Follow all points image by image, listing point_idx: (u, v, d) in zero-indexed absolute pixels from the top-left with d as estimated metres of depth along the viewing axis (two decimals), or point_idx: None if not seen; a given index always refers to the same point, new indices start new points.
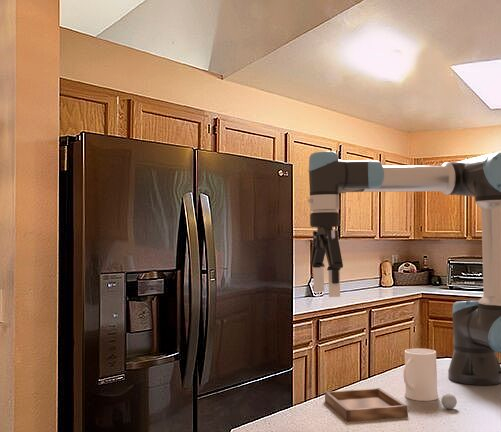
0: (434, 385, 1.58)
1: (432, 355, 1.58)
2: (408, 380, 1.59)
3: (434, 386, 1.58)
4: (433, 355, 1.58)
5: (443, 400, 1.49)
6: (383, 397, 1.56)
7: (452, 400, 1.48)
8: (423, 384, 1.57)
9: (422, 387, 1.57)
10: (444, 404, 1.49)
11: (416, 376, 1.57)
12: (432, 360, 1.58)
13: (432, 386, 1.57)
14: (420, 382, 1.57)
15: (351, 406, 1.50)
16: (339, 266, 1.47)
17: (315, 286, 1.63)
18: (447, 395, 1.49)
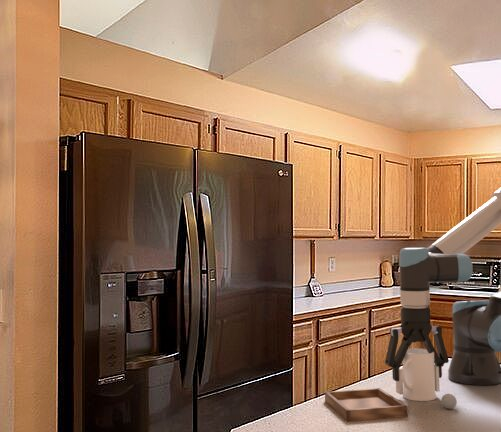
0: (432, 385, 1.58)
1: (430, 355, 1.58)
2: (406, 380, 1.59)
3: (432, 386, 1.58)
4: (431, 355, 1.58)
5: (443, 400, 1.49)
6: (383, 397, 1.56)
7: (452, 400, 1.48)
8: (421, 384, 1.57)
9: (420, 387, 1.57)
10: (444, 404, 1.49)
11: (414, 376, 1.57)
12: (431, 360, 1.58)
13: (430, 386, 1.57)
14: (418, 382, 1.57)
15: (351, 406, 1.50)
16: (387, 364, 1.58)
17: None
18: (447, 395, 1.49)
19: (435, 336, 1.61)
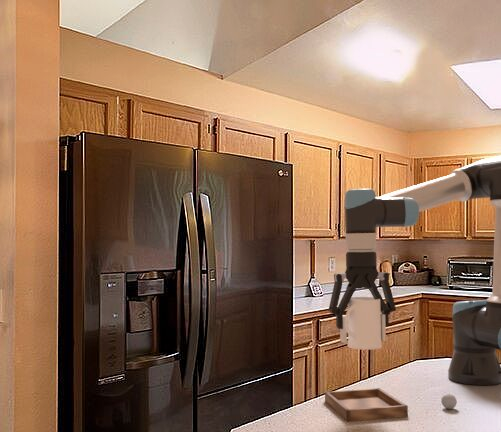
0: (377, 333, 1.49)
1: (375, 301, 1.49)
2: (350, 328, 1.50)
3: (377, 334, 1.49)
4: (376, 301, 1.49)
5: (443, 400, 1.49)
6: (383, 397, 1.56)
7: (452, 400, 1.48)
8: (365, 332, 1.48)
9: (364, 335, 1.48)
10: (444, 404, 1.49)
11: (358, 323, 1.49)
12: (376, 307, 1.49)
13: (375, 335, 1.49)
14: (362, 330, 1.48)
15: (351, 406, 1.50)
16: (330, 311, 1.50)
17: None
18: (447, 395, 1.49)
19: (382, 283, 1.53)
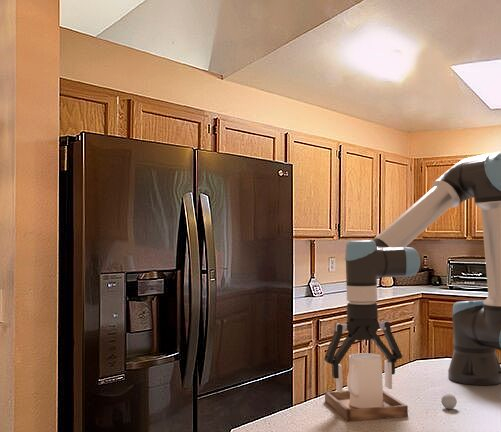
0: (379, 392, 1.49)
1: (377, 360, 1.49)
2: (352, 387, 1.50)
3: (379, 393, 1.49)
4: (378, 360, 1.49)
5: (443, 400, 1.49)
6: (383, 397, 1.56)
7: (452, 400, 1.48)
8: (367, 391, 1.48)
9: (366, 394, 1.48)
10: (444, 404, 1.49)
11: (360, 383, 1.48)
12: (378, 365, 1.49)
13: (377, 393, 1.48)
14: (364, 389, 1.48)
15: (351, 406, 1.50)
16: (326, 361, 1.49)
17: (385, 380, 1.53)
18: (447, 395, 1.49)
19: (385, 332, 1.52)
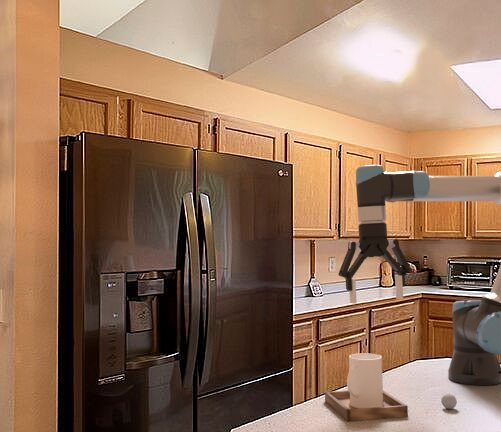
0: (379, 392, 1.49)
1: (377, 360, 1.49)
2: (352, 387, 1.50)
3: (379, 393, 1.49)
4: (378, 360, 1.49)
5: (443, 400, 1.49)
6: (383, 397, 1.56)
7: (452, 400, 1.48)
8: (367, 391, 1.48)
9: (366, 395, 1.48)
10: (444, 404, 1.49)
11: (360, 383, 1.48)
12: (378, 366, 1.49)
13: (377, 394, 1.48)
14: (364, 389, 1.48)
15: (351, 406, 1.50)
16: (340, 275, 1.62)
17: (396, 293, 1.67)
18: (447, 395, 1.49)
19: (394, 249, 1.66)
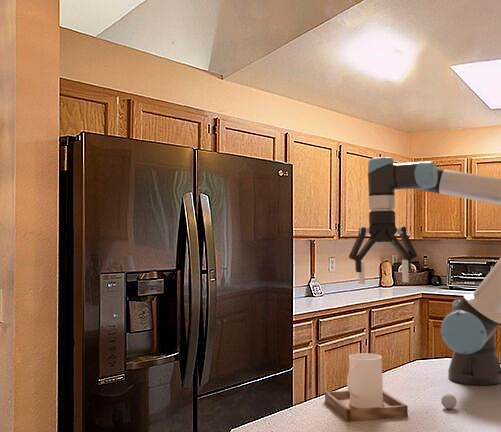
0: (379, 392, 1.49)
1: (377, 360, 1.49)
2: (352, 387, 1.50)
3: (379, 393, 1.49)
4: (378, 360, 1.49)
5: (443, 400, 1.49)
6: (383, 397, 1.56)
7: (452, 400, 1.48)
8: (367, 391, 1.48)
9: (366, 395, 1.48)
10: (444, 404, 1.49)
11: (360, 383, 1.48)
12: (378, 366, 1.49)
13: (377, 394, 1.48)
14: (364, 389, 1.48)
15: (351, 406, 1.50)
16: (351, 257, 1.76)
17: (402, 276, 1.80)
18: (447, 395, 1.49)
19: (401, 235, 1.79)
